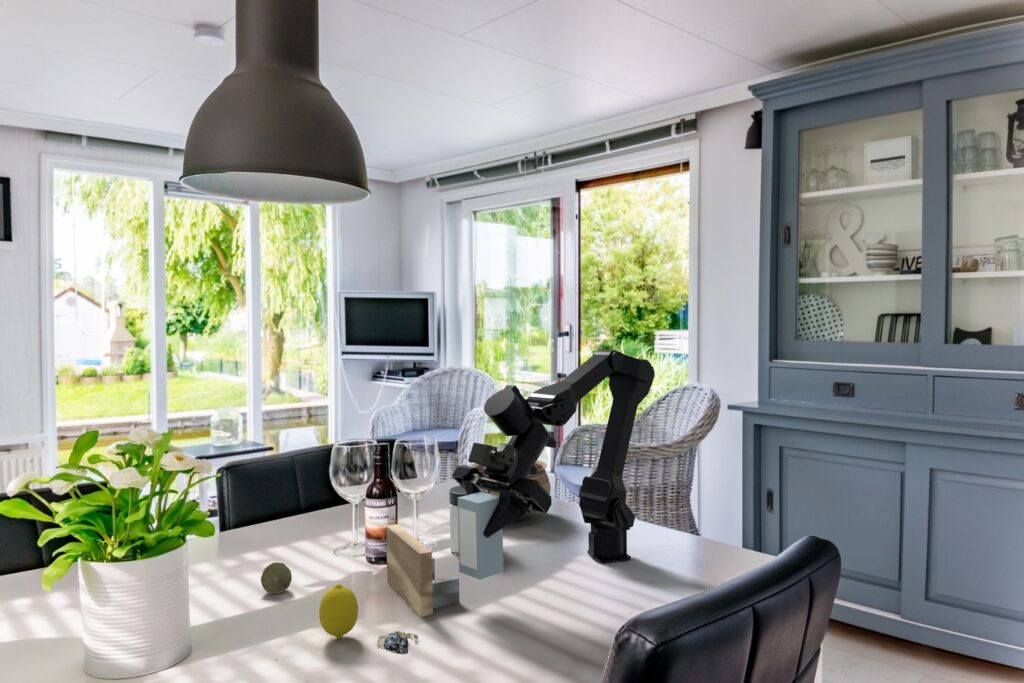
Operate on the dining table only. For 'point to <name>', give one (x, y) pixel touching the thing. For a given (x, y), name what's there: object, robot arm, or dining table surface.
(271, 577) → the lime
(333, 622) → the lemon
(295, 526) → the dining table surface
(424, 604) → the wooden bookend
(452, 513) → the jar
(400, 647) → the blueberries
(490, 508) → the light blue tall block
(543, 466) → the cooking pot
